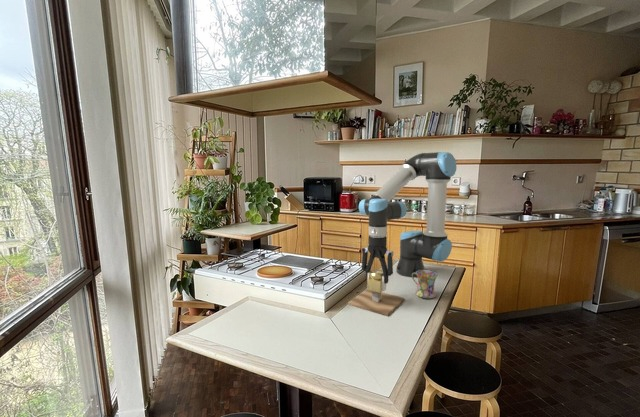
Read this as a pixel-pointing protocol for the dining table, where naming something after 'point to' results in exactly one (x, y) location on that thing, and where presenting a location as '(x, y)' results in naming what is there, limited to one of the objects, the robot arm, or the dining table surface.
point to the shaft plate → (376, 302)
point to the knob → (375, 281)
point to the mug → (425, 283)
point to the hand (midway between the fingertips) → (376, 288)
